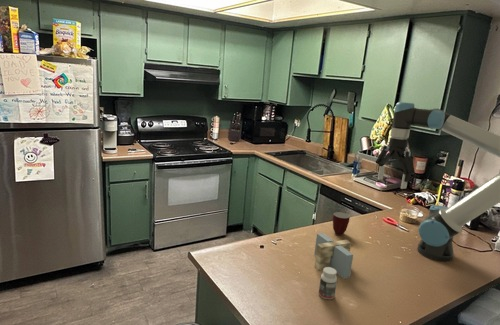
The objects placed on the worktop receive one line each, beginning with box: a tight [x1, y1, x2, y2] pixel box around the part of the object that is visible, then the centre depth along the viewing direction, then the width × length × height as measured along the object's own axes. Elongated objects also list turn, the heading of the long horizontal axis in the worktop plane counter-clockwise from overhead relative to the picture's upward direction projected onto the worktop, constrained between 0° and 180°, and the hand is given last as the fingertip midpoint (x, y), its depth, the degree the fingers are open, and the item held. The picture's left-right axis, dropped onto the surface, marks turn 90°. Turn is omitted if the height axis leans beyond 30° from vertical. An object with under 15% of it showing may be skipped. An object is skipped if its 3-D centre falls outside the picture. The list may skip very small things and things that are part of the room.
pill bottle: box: [318, 267, 338, 300], centre depth 124 cm, size 6×6×10 cm
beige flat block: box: [314, 239, 352, 271], centre depth 144 cm, size 15×3×10 cm, turn 115°
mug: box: [332, 211, 351, 236], centre depth 175 cm, size 10×8×10 cm
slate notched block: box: [313, 232, 354, 280], centre depth 144 cm, size 20×3×10 cm, turn 24°
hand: (391, 183), depth 158 cm, fingers open, 13 cm apart
